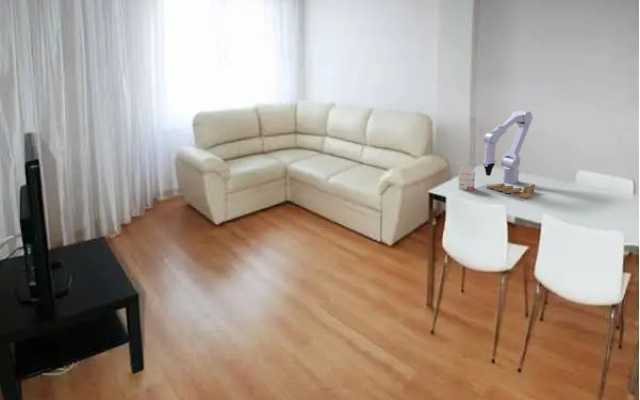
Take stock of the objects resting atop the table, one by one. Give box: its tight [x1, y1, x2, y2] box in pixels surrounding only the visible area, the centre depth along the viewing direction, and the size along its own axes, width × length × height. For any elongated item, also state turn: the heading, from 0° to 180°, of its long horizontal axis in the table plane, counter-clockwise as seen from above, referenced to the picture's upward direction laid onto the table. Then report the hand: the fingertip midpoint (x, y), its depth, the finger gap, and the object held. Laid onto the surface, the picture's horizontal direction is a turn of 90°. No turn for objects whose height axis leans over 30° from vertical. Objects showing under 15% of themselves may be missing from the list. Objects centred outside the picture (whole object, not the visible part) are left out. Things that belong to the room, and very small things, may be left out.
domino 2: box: [494, 184, 514, 191], centre depth 278 cm, size 2×5×9 cm
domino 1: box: [486, 182, 506, 189], centre depth 282 cm, size 2×5×9 cm
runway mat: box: [475, 183, 535, 202], centre depth 278 cm, size 12×31×1 cm, turn 35°
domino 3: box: [503, 187, 523, 193], centre depth 274 cm, size 2×5×9 cm
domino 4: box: [511, 191, 532, 200], centre depth 270 cm, size 2×5×9 cm
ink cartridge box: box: [457, 166, 476, 192], centre depth 284 cm, size 9×5×15 cm, turn 62°
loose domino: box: [522, 183, 536, 194], centre depth 273 cm, size 2×5×9 cm
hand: (488, 175), depth 286 cm, fingers closed
